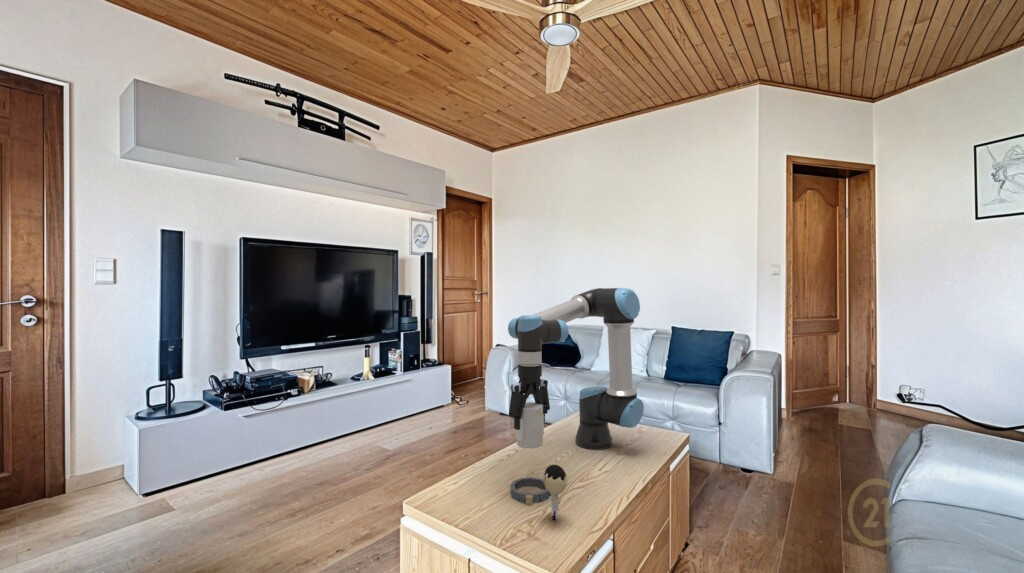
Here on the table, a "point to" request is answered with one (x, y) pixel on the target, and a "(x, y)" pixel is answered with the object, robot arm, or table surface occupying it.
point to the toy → (555, 485)
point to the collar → (527, 497)
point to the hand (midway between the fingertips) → (529, 436)
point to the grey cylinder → (532, 426)
